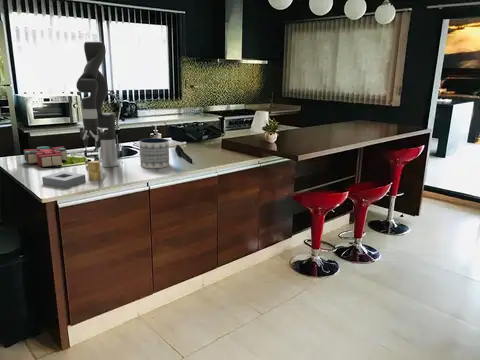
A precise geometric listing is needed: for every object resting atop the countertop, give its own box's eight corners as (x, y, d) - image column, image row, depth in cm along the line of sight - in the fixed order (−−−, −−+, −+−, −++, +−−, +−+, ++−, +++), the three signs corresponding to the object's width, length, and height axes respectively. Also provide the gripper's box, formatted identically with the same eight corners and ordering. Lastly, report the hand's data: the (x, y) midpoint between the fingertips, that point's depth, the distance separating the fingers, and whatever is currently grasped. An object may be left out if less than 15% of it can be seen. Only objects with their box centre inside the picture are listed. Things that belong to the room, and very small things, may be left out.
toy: (73, 167, 250) (62, 156, 273) (72, 152, 247) (61, 143, 270) (31, 172, 236) (23, 160, 259) (29, 156, 233) (21, 146, 256)
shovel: (194, 164, 261) (194, 153, 259) (188, 164, 259) (188, 153, 257) (178, 153, 292) (178, 143, 289) (173, 153, 290) (173, 143, 288)
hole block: (63, 178, 220) (63, 171, 219) (85, 181, 214) (85, 174, 213) (42, 184, 207) (42, 177, 206) (65, 188, 201) (64, 180, 200)
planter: (137, 168, 245) (135, 142, 240) (145, 161, 262) (144, 137, 258) (165, 169, 244) (164, 143, 240) (171, 162, 262) (171, 138, 257)
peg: (94, 177, 221) (93, 160, 219) (101, 178, 220) (99, 161, 217) (89, 179, 217) (87, 162, 215) (95, 180, 216) (93, 163, 213)
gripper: (105, 117, 210) (107, 147, 214) (85, 115, 215) (87, 145, 220) (95, 118, 203) (97, 149, 208) (74, 117, 209) (77, 147, 213)
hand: (92, 147), depth 214 cm, fingers open, 8 cm apart
